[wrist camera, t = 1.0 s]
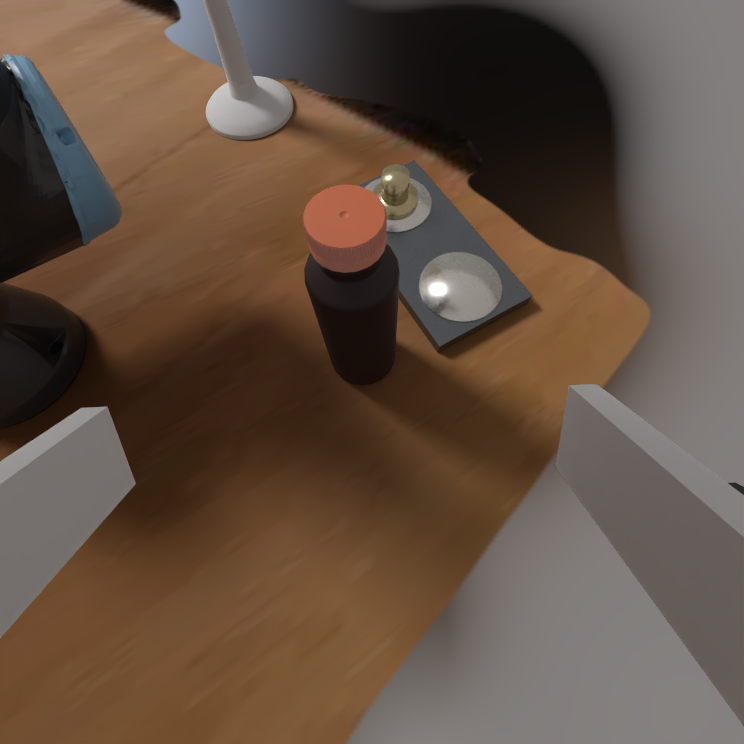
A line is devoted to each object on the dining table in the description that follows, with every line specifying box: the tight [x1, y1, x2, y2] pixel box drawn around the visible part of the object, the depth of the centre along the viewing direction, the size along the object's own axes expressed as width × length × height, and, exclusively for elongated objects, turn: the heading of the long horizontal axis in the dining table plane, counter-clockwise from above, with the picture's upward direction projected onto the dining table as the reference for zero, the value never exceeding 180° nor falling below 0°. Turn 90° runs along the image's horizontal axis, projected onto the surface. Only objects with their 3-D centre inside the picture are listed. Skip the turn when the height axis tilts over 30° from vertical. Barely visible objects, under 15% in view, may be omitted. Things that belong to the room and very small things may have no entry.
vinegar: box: [303, 185, 400, 385], centre depth 31 cm, size 7×7×20 cm
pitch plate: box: [358, 160, 532, 352], centre depth 42 cm, size 24×12×6 cm, turn 30°
